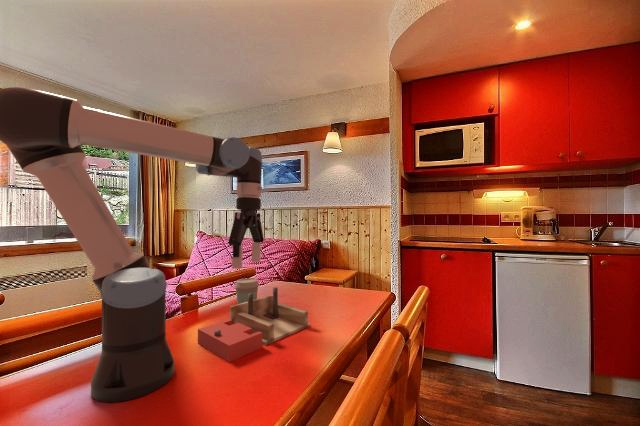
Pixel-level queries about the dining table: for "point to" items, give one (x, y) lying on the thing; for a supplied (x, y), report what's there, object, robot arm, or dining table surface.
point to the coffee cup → (246, 289)
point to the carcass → (269, 317)
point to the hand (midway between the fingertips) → (247, 264)
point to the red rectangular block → (229, 339)
